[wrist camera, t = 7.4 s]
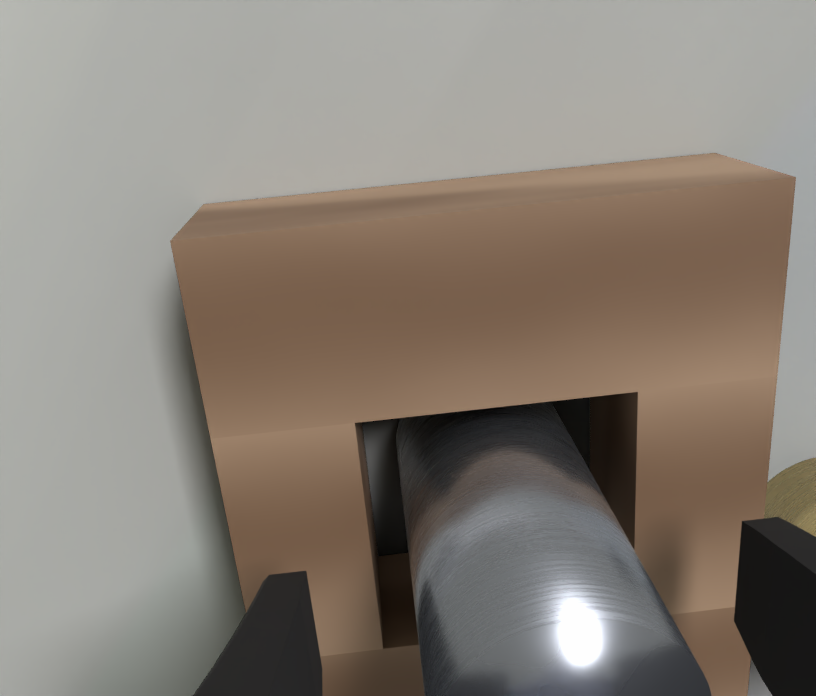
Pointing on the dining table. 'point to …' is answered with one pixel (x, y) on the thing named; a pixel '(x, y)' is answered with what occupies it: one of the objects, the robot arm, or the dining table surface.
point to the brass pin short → (794, 496)
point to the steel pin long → (527, 566)
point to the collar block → (493, 371)
